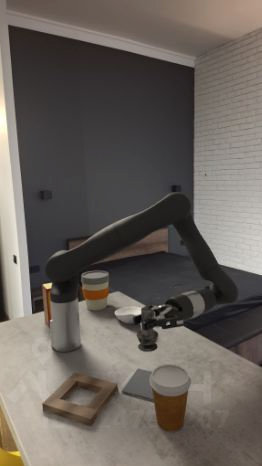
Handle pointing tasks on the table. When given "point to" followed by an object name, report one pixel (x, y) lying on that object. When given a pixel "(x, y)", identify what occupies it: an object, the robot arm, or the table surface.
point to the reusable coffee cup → (95, 289)
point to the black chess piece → (147, 333)
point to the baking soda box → (47, 302)
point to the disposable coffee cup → (170, 395)
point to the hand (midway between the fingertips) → (138, 323)
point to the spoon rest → (128, 314)
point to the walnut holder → (75, 411)
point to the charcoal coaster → (139, 385)
